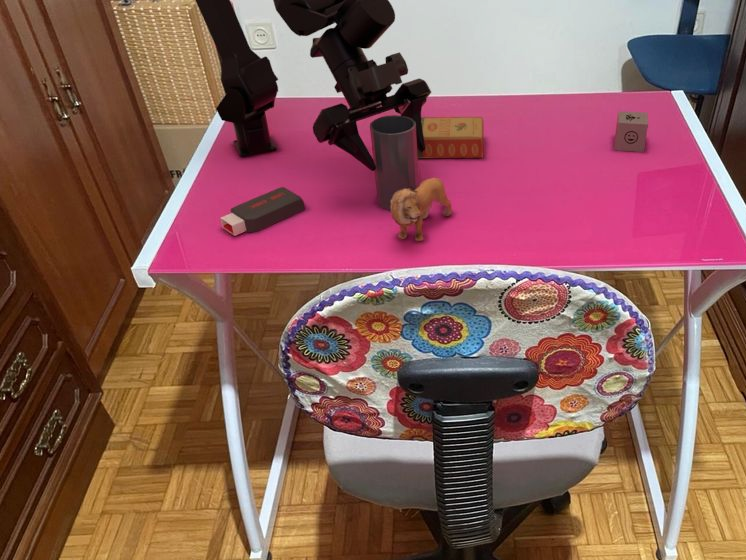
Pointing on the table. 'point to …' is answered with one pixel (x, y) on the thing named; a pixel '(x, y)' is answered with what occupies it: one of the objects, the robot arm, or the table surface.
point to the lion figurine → (417, 205)
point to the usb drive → (262, 211)
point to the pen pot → (394, 156)
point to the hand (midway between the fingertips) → (399, 160)
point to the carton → (452, 137)
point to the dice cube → (631, 131)
